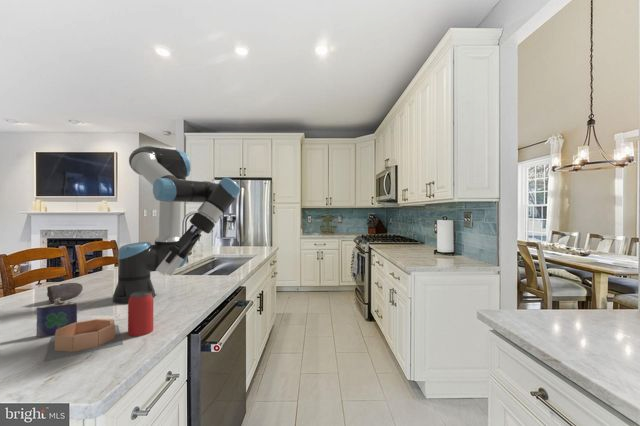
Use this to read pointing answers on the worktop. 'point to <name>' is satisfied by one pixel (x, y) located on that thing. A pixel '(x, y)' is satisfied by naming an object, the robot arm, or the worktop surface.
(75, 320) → the flask
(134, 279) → the robot arm
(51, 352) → the mat
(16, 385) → the worktop surface
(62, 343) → the dish
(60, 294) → the perforated stone tool
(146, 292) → the beer can
